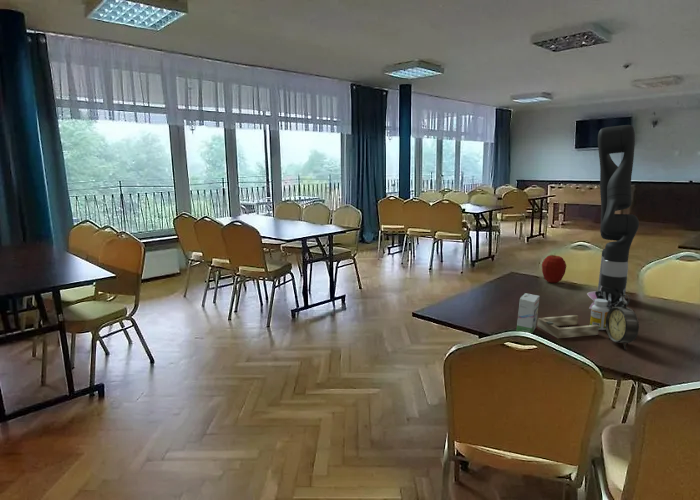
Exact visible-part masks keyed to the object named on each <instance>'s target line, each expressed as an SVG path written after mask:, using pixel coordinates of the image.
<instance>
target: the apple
mask: <svg viewBox="0 0 700 500" xmlns="http://www.w3.org/2000/svg"><path fill="white" fill-rule="evenodd" d="M566 270H567V264H566V261H565V259H564V258H563V257H562V256H559V255H556V254H551V255H548V256H546V257H545V258H544V259H543V261H542V264H541V272H542V275H543V279H544V280H545V281H546V282H547V283H550V284H557V283H559V282H561V281H562V280H563V277H564V275H565V274H566Z"/></svg>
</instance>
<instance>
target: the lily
mask: <svg viewBox="0 0 700 500" xmlns="http://www.w3.org/2000/svg"><path fill="white" fill-rule="evenodd" d="M601 287H602V286H601ZM600 290H601V288H600ZM597 291H598V290H597ZM597 291H596V290H594V291H589V292H587V293H586V295H587V296H588V297H589V298H590V299H591V300H592V302H591V304H590V305H589V307H588V309H589V310H591V308H592V306H593V305H595V304H594V301H595V299H597V297H596V294H595V292H597Z"/></svg>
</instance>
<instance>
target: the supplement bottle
mask: <svg viewBox="0 0 700 500" xmlns="http://www.w3.org/2000/svg"><path fill="white" fill-rule="evenodd" d="M593 302H594V304H595V305H593V306H592V308H591V309H590V318H589V319H590V320H589V325H598V326H599V330H598V331H605V330H606V316H607V313H608V311H609V308H608V307H607V305H608V301H607V300H605V299H595V301H593Z"/></svg>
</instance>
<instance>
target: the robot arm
mask: <svg viewBox="0 0 700 500" xmlns="http://www.w3.org/2000/svg"><path fill="white" fill-rule="evenodd" d="M635 134H636V133H635V128H634V126H633V125H630V124H625V125H623V124H622V125H616V126H615V125H614V126H607V127H602V128H600V130H599V131H598V134H597V149H598V157H599V171H600V172H599V176H600V177H599V178H600V179H599V193H600V206H601V210H600V211H601V212H600V227H599V228H600V231H599V232H600V237H601V238H602V239H603V240H607V241H609V242H607V243H606V244H605V248H603V249H602V251H601V256H600V257H601V259H600V266H599V277H598V285H597V292H595V294H596V297H597V299H605V300H607V301H608V305H607V307H608V308H609V310H610V309H611V308H613V307H623V304H624V303H626V304H628V302H629V300H626V295H624V294H626V289H627V284H628V282H627V281H628V271H629V255H630V249H631V246H632V242H633V241H634V238H635V236H636V234H637V232H638V230H639V227H640V221H639V219H638V217H637V216H636V215H634V214H631V213H630V214H629V213H628V214H627V213H615V212H617V211H623V210H626V209H628V208H630V207H631V206H632V177H633V175H632V174H633V168H634V160H635V159H634V157H635V145H636V144H635V143H636V139H635V138H636V135H635ZM611 154H623V155H622V156H623V157H622V159H621V161H620V163H619V165H617V164H616V163H615V162H614V161H613V159H612V157H611ZM601 286H602V287H601ZM600 288H601V290H600ZM623 295H624V297H623V301H624V303H623V301H622V296H623ZM629 303H630V302H629ZM628 305H629V304H628ZM628 305H626V307H627V306H628Z"/></svg>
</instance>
